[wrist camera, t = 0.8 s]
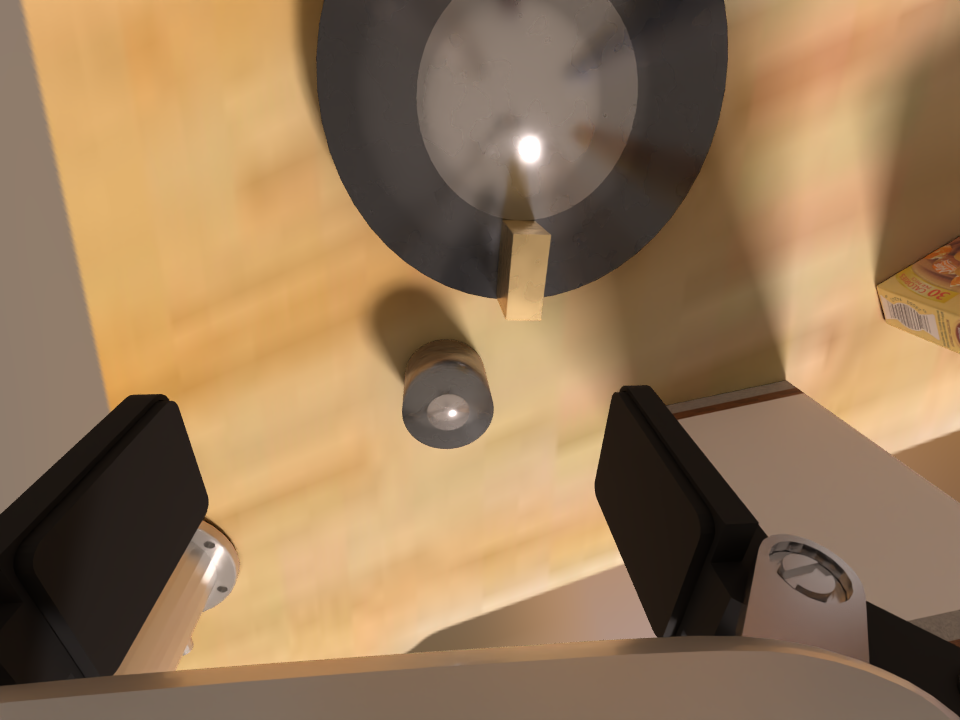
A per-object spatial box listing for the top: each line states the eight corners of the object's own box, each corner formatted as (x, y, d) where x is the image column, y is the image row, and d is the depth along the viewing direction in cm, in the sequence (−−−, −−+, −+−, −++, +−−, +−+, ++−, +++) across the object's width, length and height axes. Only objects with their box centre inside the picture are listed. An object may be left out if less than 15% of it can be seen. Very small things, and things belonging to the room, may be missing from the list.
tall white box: (652, 501, 43) (1239, 1470, 12) (652, 408, 38) (1650, 1649, 7) (770, 476, 43) (1649, 1369, 12) (786, 380, 38) (2334, 1475, 7)
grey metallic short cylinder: (482, 408, 36) (490, 448, 32) (405, 409, 36) (403, 450, 31) (487, 339, 34) (496, 372, 29) (404, 338, 33) (401, 372, 28)
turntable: (658, 293, 33) (703, 325, 27) (341, 286, 30) (323, 321, 25) (760, -130, 23) (861, -207, 18) (300, -195, 20) (256, -309, 15)
